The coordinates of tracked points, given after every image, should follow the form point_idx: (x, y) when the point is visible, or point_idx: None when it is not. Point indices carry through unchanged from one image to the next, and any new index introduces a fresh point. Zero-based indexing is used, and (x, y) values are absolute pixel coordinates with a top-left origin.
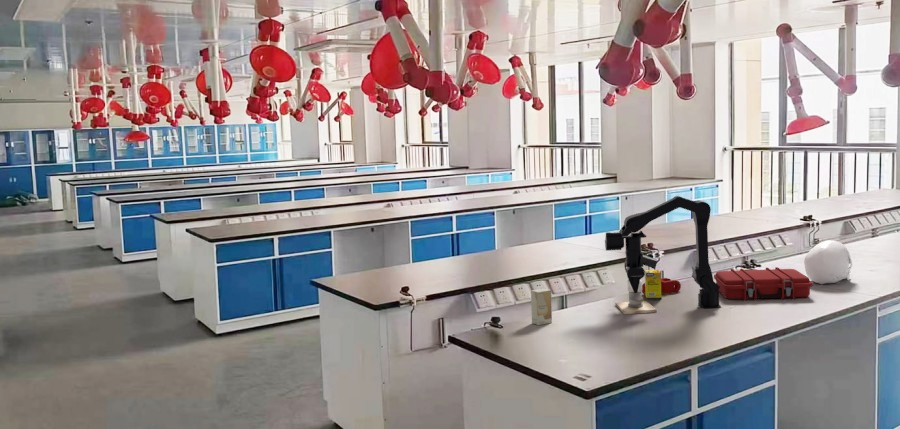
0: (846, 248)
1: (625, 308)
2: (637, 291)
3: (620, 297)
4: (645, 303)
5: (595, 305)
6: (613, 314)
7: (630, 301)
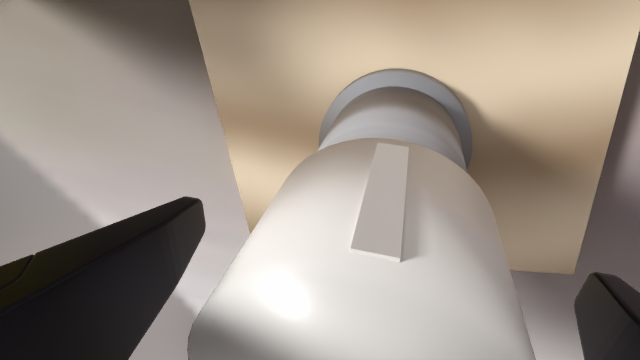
0: None
1: None
2: (636, 291)
3: (41, 160)
4: (301, 18)
5: None
6: (533, 317)
7: None
